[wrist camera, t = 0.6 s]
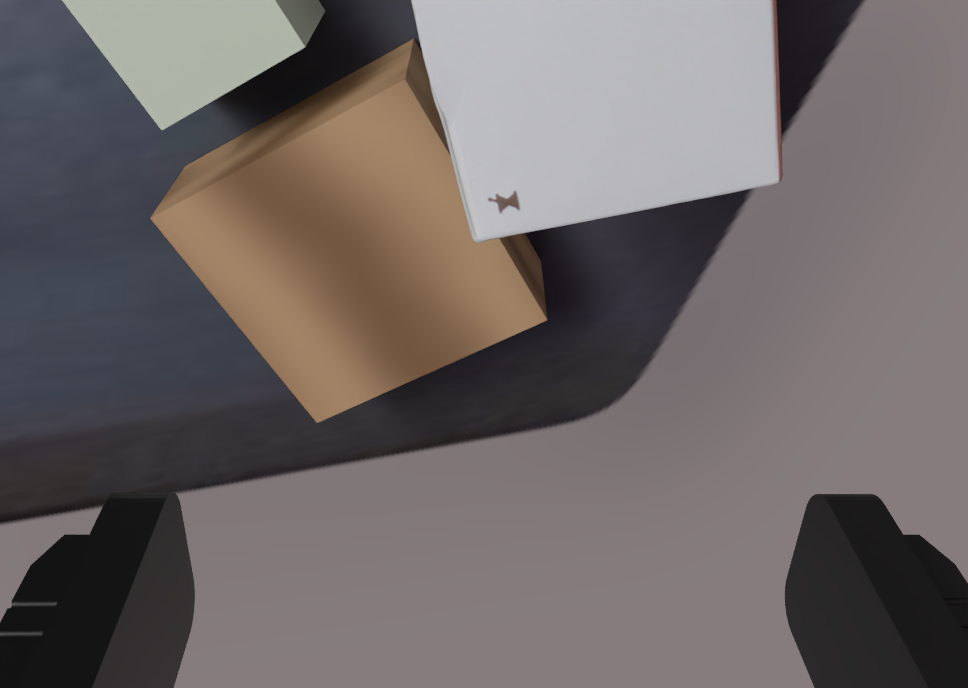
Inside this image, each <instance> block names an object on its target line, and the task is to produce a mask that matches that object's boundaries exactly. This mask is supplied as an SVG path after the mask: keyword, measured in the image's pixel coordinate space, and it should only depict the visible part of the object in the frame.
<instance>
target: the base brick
mask: <svg viewBox="0 0 968 688" xmlns="http://www.w3.org/2000/svg"><path fill="white" fill-rule="evenodd" d="M150 219H151V220H152V221H153V222H154V224H155V225H156V226H157V227H158V228H159V230H160V231H161V232H162V233H163V235H164V236H165V237H166V238H167V239H168V241H169V242H170V243H171V244H172V246H173V247H174V248H175V249H176V251H177V252H178V253H179V254H180V255H181V257H182V258H183V259H184V260H185V262H186V263H187V264H188V265H189V266H190V268H191V269H192V270H193V271H194V273H195V274H196V275H197V276H198V277H199V279H200V280H201V281H202V282H203V284H204V285H205V286H206V287H207V289H208V290H209V291H210V292H211V293H212V295H213V296H214V297H215V298H216V300H217V301H218V302H219V303H220V304H221V306H222V307H223V308H224V309H225V311H226V312H227V313H228V314H229V316H230V317H231V318H232V319H233V320H234V322H235V323H236V324H237V325H238V327H239V328H240V329H241V330H242V331H243V333H244V334H245V335H246V336H247V338H248V339H249V340H250V341H251V343H252V344H253V345H254V346H255V347H256V349H257V350H258V351H259V352H260V354H261V355H262V356H263V357H264V358H265V360H266V361H267V362H268V363H269V365H270V366H271V367H272V368H273V370H274V371H275V372H276V373H277V374H278V376H279V377H280V378H281V379H282V381H283V382H284V383H285V384H286V385H287V387H288V388H289V389H290V390H291V392H292V393H293V394H294V395H295V396H296V398H297V399H298V400H299V401H300V403H301V404H302V405H303V406H304V408H305V409H306V410H307V411H308V412H309V414H310V415H311V416H312V417H313V419H314V420H315V421H316V422H317V423H318V422H320V421H323V420H325V419H327V418H329V417H332V416H334V415H336V414H338V413H340V412H343V411H345V410H347V409H349V408H352V407H354V406H356V405H358V404H361V403H363V402H365V401H367V400H370V399H372V398H374V397H376V396H379V395H381V394H383V393H385V392H388V391H390V390H392V389H394V388H397V387H399V386H401V385H403V384H406V383H408V382H410V381H412V380H414V379H417V378H419V377H421V376H423V375H426V374H428V373H430V372H432V371H435V370H437V369H439V368H441V367H444V366H446V365H448V364H450V363H453V362H455V361H457V360H459V359H462V358H464V357H466V356H468V355H471V354H473V353H475V352H477V351H480V350H482V349H484V348H486V347H488V346H491V345H493V344H495V343H497V342H500V341H502V340H504V339H506V338H509V337H511V336H513V335H515V334H518V333H520V332H522V331H524V330H527V329H529V328H531V327H533V326H536V325H538V324H540V323H542V322H545V321H547V311H546V302H545V293H544V284H543V275H542V266H541V260H540V258H539V257H538V255H537V253H536V251H535V250H534V248H533V246H532V244H531V243H530V241H529V239H528V237H527V236H526V234H525V233H522V234H517V235H512V236H508V237H503V238H498V239H494V240H490V241H485V242H481V243H476V242H475V241H474V240H473V238H472V235H471V232H470V228H469V224H468V220H467V216H466V213H465V209H464V205H463V202H462V198H461V194H460V190H459V186H458V182H457V178H456V174H455V170H454V166H453V163H452V159H451V155H450V151H449V147H448V143H447V139H446V135H445V131H444V128H443V125H442V122H441V118H440V115H439V112H438V110H437V107H436V104H435V101H434V98H433V94H432V90H431V85H430V80H429V76H428V73H427V69H426V65H425V62H424V58H423V54H422V52H421V50H420V48H419V47H418V45H417V43H416V41H415V40H414V39H412V40H410V41H409V42H407V43H405V44H403V45H401V46H400V47H398V48H396V49H394V50H392V51H391V52H389V53H387V54H385V55H383V56H382V57H380V58H378V59H376V60H375V61H373V62H371V63H369V64H367V65H366V66H364V67H362V68H360V69H358V70H357V71H355V72H353V73H351V74H349V75H348V76H346V77H344V78H342V79H340V80H339V81H337V82H335V83H333V84H332V85H330V86H328V87H326V88H324V89H323V90H321V91H319V92H317V93H315V94H314V95H312V96H310V97H308V98H306V99H305V100H303V101H301V102H299V103H298V104H296V105H294V106H292V107H290V108H289V109H287V110H285V111H283V112H281V113H280V114H278V115H276V116H274V117H272V118H271V119H269V120H267V121H265V122H264V123H262V124H260V125H258V126H256V127H255V128H253V129H251V130H249V131H247V132H246V133H244V134H242V135H240V136H238V137H237V138H235V139H233V140H231V141H229V142H228V143H226V144H224V145H222V146H221V147H219V148H217V149H215V150H213V151H212V152H210V153H208V154H206V155H204V156H203V157H201V158H199V159H197V160H195V161H194V162H192V163H190V164H188V165H187V166H185V168H184V169H183V171H182V172H181V173H180V175H179V176H178V178H177V179H176V181H175V182H174V184H173V185H172V187H171V188H170V190H169V191H168V193H167V194H166V196H165V197H164V199H163V200H162V202H161V203H160V205H159V206H158V208H157V209H156V211H155V212H154V214H153V215H152V217H151V218H150Z"/></svg>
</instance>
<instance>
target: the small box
mask: <svg viewBox="0 0 968 688" xmlns="http://www.w3.org/2000/svg"><path fill="white" fill-rule="evenodd" d="M411 2H412V6H413V10H414V15H415V20H416V25H417V30H418V35H419V39H420V44H421V49H422V53H423V58H424V62H425V65H426V69H427V73H428V76H429V80H430V85H431V90H432V94H433V98H434V101H435V104H436V107H437V110H438V112H439V115H440V118H441V122H442V125H443V128H444V131H445V135H446V139H447V143H448V147H449V151H450V155H451V159H452V163H453V166H454V170H455V174H456V178H457V182H458V186H459V190H460V194H461V198H462V202H463V205H464V209H465V213H466V216H467V220H468V224H469V228H470V232H471V235H472V238H473V240H474V241H475V242H476V243H481V242H485V241H490V240H494V239H498V238H503V237H508V236H512V235H517V234H522V233H526V232H532V231H537V230H543V229H548V228H554V227H559V226H564V225H569V224H575V223H580V222H585V221H590V220H595V219H600V218H606V217H611V216H616V215H621V214H626V213H632V212H637V211H642V210H646V209H651V208H657V207H662V206H666V205H671V204H676V203H681V202H687V201H692V200H697V199H702V198H708V197H713V196H718V195H723V194H728V193H733V192H737V191H742V190H747V189H752V188H758V187H763V186H769V185H774V184H778V183H779V182H780V181H781V179H782V143H781V112H780V83H779V56H778V28H777V0H411Z"/></svg>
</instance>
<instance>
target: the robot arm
mask: <svg viewBox="0 0 968 688" xmlns="http://www.w3.org/2000/svg"><path fill="white" fill-rule="evenodd" d="M194 601H195V589H194V579H193V573H192V567H191V562H190V556H189V550H188V545H187V540H186V533H185V528H184V522H183V517H182V511H181V505H180V501H179V498H178V496H177V495H176V494H175V493H173V492H115V493H112V494H110V495H109V497H108V498H107V500H106V501H105V503H104V505H103V508H102V510H101V512H100V514H99V516H98V518H97V520H96V522H95V525H94V526H93V529H92V531H91V533H90V535H64V536H63V537H61V538H60V539H59V540H58V541H57V542H56V543H55V544H54V545H53V546H52V547H50V548H49V549H48V550H47V551H46V552H45V553H44V554H43V555H42V556H41V557H40V558H38V559H37V560H36V561H35V562H34V563H33V564H32V565H31V566H30V568H29V570H28V571H27V573H26V575H25V577H24V579H23V581H22V583H21V584H20V587H19V588H18V590H17V592H16V594H15V596H14V598H13V599H12V607H11V608H9V609H7V611H6V613H5V614H4V616H3V618H2V620H1V622H0V688H174V684H175V681H176V678H177V674H178V671H179V668H180V664H181V661H182V658H183V654H184V651H185V648H186V644H187V641H188V638H189V634H190V631H191V626H192V621H193V614H194ZM785 606H786V614H787V618H788V623H789V626H790V629H791V632H792V635H793V637H794V639H795V642H796V644H797V646H798V649H799V651H800V654H801V656H802V659H803V661H804V663H805V666H806V668H807V671H808V673H809V675H810V678H811V680H812V683H813V685H814V687H815V688H968V583H967V582H966V580H965V579H964V577H963V576H962V574H961V573H960V571H959V570H958V568H957V567H956V565H955V564H954V563H953V562H952V561H950V560H949V559H948V558H947V557H946V556H944V555H943V554H942V553H941V552H939V551H938V550H937V549H936V548H935V547H934V546H932V545H931V544H930V543H929V542H927V541H926V540H925V539H924V538H923V537H921V536H920V535H903V534H902V532H901V530H900V529H899V527H898V526H897V524H896V522H895V521H894V519H893V517H892V516H891V514H890V513H889V511H888V509H887V508H886V506H885V505H884V503H883V502H882V500H881V499H880V498H879V497H877V496H876V495H873V494H816V495H814V496H812V498H810V500H809V502H808V504H807V507H806V510H805V514H804V517H803V521H802V524H801V528H800V532H799V536H798V539H797V543H796V546H795V550H794V554H793V558H792V561H791V565H790V568H789V573H788V576H787V580H786V586H785Z"/></svg>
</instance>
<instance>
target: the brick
mask: <svg viewBox="0 0 968 688" xmlns="http://www.w3.org/2000/svg"><path fill="white" fill-rule="evenodd" d="M62 1H63V2H64V3H65V5H66V6H67V7H68V9H69V10H70V11H71V13H72V14H73V15H74V17H75V18H76V19H77V20H78V22H79V23H80V24H81V26H82V27H83V28H84V30H85V31H86V32H87V33H88V35H89V36H90V37H91V39H92V40H93V41H94V43H95V44H96V45H97V47H98V48H99V49H100V50H101V52H102V53H103V54H104V56H105V57H106V58H107V60H108V61H109V62H110V63H111V65H112V66H113V67H114V69H115V70H116V71H117V73H118V74H119V75H120V77H121V78H122V79H123V80H124V82H125V83H126V84H127V86H128V87H129V88H130V90H131V91H132V92H133V94H134V95H135V96H136V97H137V99H138V100H139V101H140V103H141V104H142V105H143V107H144V108H145V109H146V110H147V112H148V113H149V114H150V116H151V117H152V118H153V120H154V121H155V122H156V124H157V125H158V126H159V127H160V129H161V130H164V129H165V128H167V127H169V126H170V125H172V124H174V123H176V122H177V121H179V120H181V119H183V118H184V117H186V116H188V115H189V114H191V113H193V112H195V111H196V110H198V109H200V108H201V107H203V106H205V105H207V104H208V103H210V102H212V101H214V100H215V99H217V98H219V97H220V96H222V95H224V94H226V93H227V92H229V91H231V90H232V89H234V88H236V87H238V86H239V85H241V84H243V83H245V82H246V81H248V80H250V79H251V78H253V77H255V76H257V75H258V74H260V73H262V72H263V71H265V70H267V69H269V68H270V67H272V66H274V65H276V64H277V63H279V62H281V61H282V60H284V59H286V58H288V57H289V56H291V55H293V54H294V53H296V52H298V51H300V50H301V49H303V48H305V47H306V45H307V43H308V41H309V40H310V38H311V36H312V34H313V32H314V31H315V29H316V27H317V25H318V23H319V22H320V20H321V18H322V16H323V14H324V13H325V10H324V8H323V6H322V5H321V3H320V2H319V0H62Z"/></svg>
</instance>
